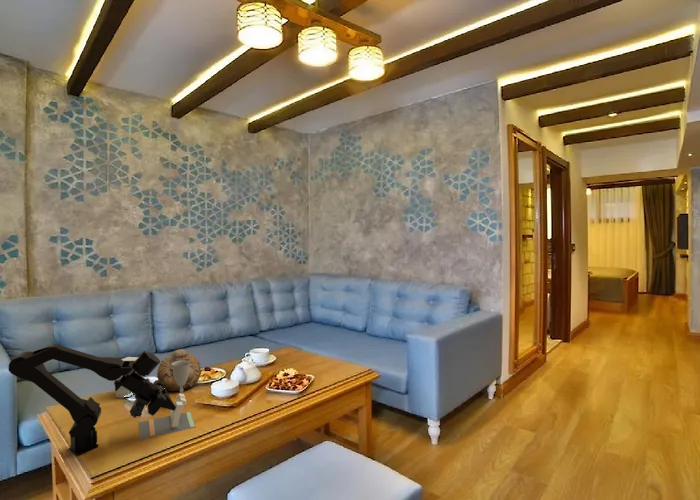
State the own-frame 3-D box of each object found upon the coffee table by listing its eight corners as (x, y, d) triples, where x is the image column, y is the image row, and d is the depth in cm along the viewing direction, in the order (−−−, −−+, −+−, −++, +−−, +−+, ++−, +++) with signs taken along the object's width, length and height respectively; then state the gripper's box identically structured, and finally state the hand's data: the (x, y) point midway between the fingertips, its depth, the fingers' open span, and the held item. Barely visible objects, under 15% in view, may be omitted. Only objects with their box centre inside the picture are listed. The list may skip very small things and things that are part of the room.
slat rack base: (139, 443, 136) (139, 415, 135) (139, 425, 148) (138, 399, 147) (195, 430, 144) (195, 404, 144) (190, 414, 157) (190, 390, 156)
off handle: (171, 427, 142) (176, 404, 143) (171, 423, 145) (176, 401, 145) (177, 427, 143) (182, 404, 144) (176, 423, 146) (181, 401, 146)
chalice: (168, 407, 163) (167, 364, 162) (182, 401, 169) (181, 359, 168) (180, 411, 159) (180, 367, 158) (194, 404, 165) (193, 362, 164)
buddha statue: (165, 398, 172) (163, 358, 171) (153, 387, 184) (151, 350, 183) (210, 385, 185) (209, 348, 184) (196, 375, 198) (194, 341, 197)
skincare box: (127, 399, 170) (126, 363, 170) (114, 397, 172) (113, 362, 171) (141, 391, 179) (140, 356, 178) (128, 389, 180) (127, 355, 179)
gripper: (121, 395, 144) (157, 417, 150) (119, 416, 127) (159, 440, 133) (144, 369, 147) (178, 392, 153) (146, 387, 130) (184, 412, 136)
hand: (175, 408), depth 144 cm, fingers closed, pressing on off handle
